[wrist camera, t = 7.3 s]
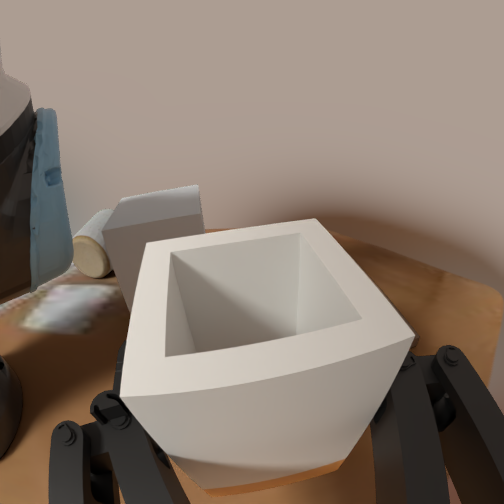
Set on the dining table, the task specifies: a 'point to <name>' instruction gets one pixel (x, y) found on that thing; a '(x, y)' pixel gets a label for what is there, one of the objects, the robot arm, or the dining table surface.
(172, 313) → the sleeve
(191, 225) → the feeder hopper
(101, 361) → the dining table surface
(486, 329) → the dining table surface
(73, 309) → the dining table surface
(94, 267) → the ceramic mug
